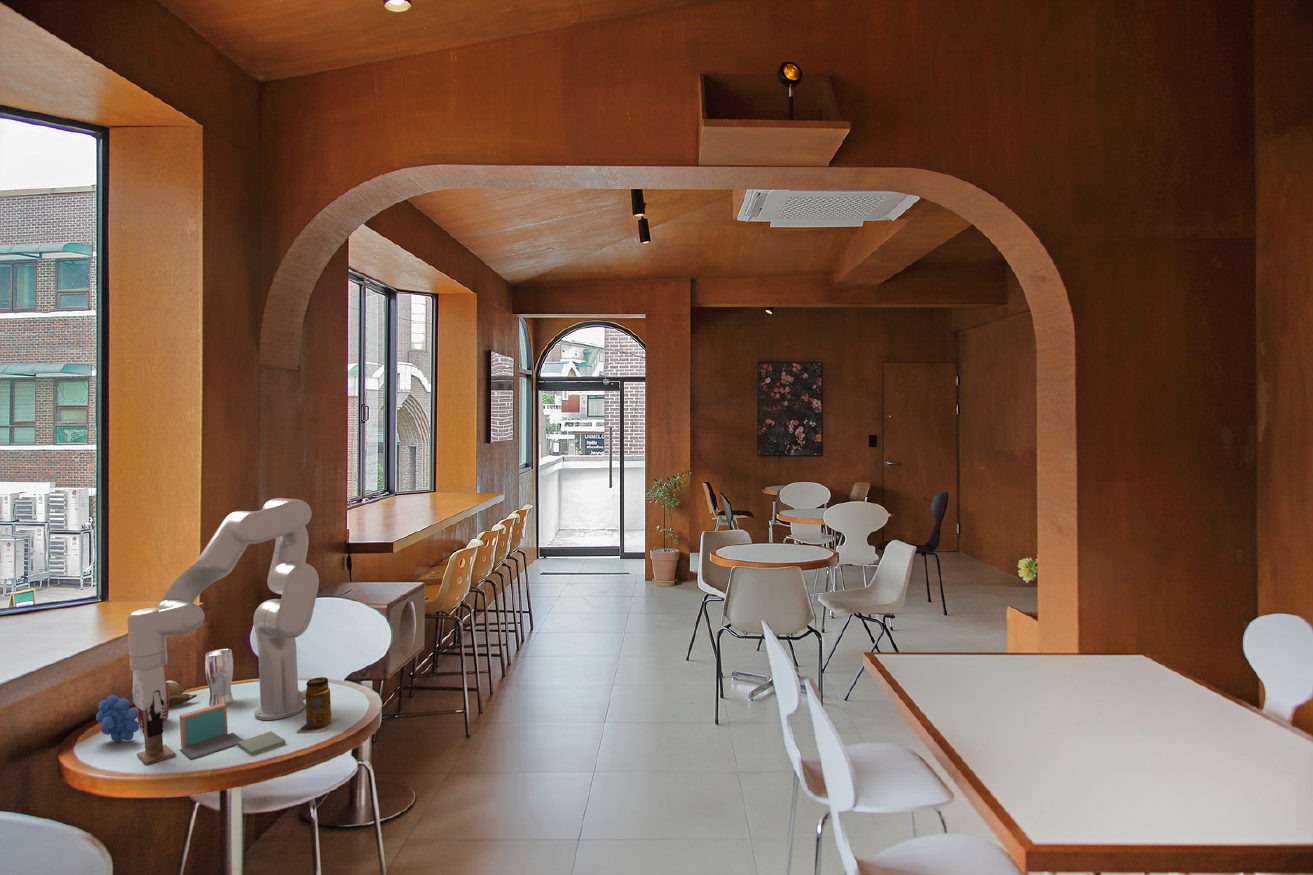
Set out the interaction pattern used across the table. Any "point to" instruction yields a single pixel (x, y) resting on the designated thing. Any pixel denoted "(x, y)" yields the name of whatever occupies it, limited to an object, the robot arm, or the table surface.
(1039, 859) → the table surface
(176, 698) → the ceramic sculpture
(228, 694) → the beer glass
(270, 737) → the board
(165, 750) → the wooden post on base
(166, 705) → the soda can
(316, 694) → the condiment
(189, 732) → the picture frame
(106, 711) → the grapes
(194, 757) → the mat
